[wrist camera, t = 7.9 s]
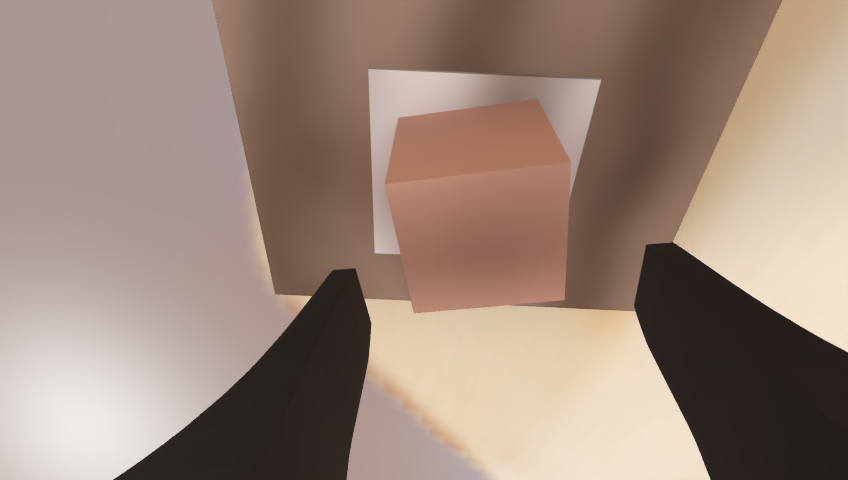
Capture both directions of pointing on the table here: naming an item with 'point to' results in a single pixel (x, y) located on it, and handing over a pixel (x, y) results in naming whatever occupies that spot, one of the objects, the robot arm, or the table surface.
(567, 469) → the table surface
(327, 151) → the walnut plinth
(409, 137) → the terracotta cube
